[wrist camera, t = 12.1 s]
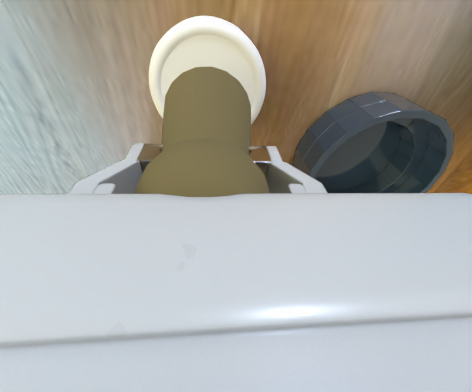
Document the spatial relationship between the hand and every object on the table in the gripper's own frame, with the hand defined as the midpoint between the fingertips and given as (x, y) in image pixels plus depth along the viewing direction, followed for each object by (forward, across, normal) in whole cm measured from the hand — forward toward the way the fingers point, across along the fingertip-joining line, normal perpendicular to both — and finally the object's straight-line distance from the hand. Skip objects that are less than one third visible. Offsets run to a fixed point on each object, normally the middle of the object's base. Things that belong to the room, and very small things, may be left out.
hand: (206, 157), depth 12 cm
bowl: (+14, -18, +8) cm, 24 cm away
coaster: (+14, 0, 0) cm, 14 cm away
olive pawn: (+6, 0, 0) cm, 6 cm away
